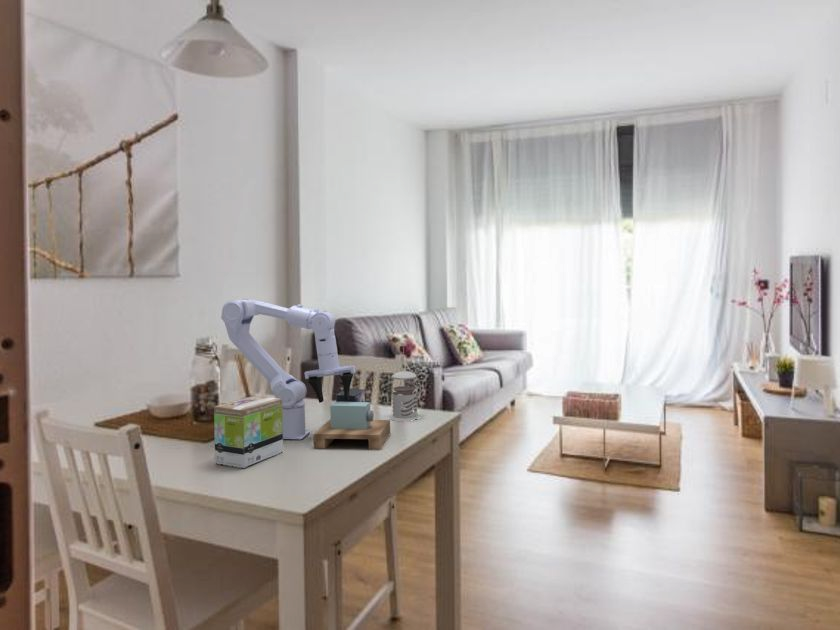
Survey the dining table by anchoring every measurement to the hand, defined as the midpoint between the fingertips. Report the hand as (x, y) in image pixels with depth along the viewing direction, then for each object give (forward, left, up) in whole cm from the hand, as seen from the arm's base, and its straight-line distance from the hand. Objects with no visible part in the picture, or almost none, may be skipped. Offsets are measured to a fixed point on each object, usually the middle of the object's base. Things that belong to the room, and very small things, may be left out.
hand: (334, 400), depth 170 cm
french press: (+17, +24, -11) cm, 32 cm away
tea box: (-17, -21, -11) cm, 29 cm away
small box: (+1, +14, -11) cm, 18 cm away
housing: (+6, -4, -7) cm, 10 cm away
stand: (+6, -4, -11) cm, 13 cm away
